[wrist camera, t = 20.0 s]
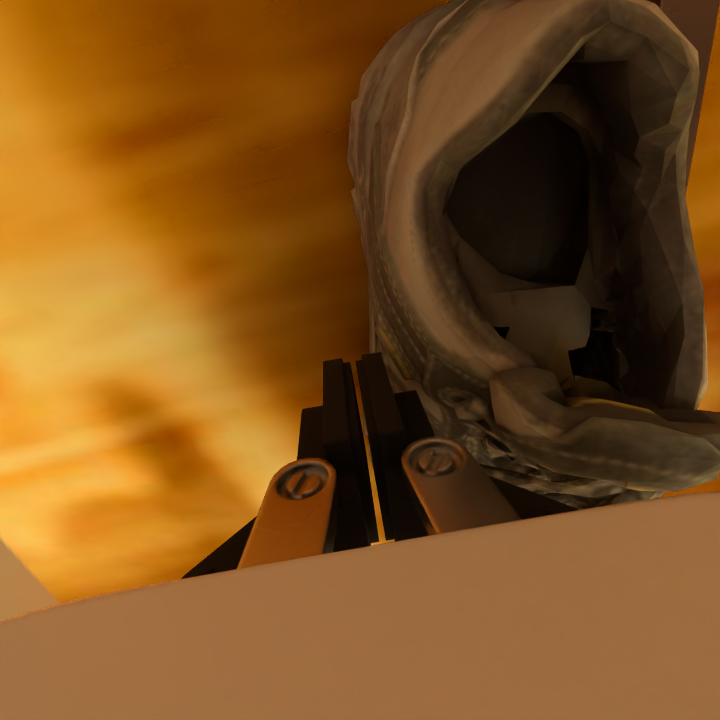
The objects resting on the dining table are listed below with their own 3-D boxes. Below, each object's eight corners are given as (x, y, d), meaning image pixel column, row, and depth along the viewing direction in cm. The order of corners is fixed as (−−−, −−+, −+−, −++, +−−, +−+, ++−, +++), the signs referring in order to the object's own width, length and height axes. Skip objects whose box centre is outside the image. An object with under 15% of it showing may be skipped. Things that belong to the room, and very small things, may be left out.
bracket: (367, -274, 10) (382, -436, 7) (681, -330, 10) (813, -514, 7) (447, 565, 23) (463, 617, 21) (582, 541, 23) (616, 590, 21)
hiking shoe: (362, 592, 19) (664, 898, 10) (216, 80, 12) (777, -625, 3) (485, 489, 24) (769, 626, 14) (429, 78, 17) (907, -183, 7)
